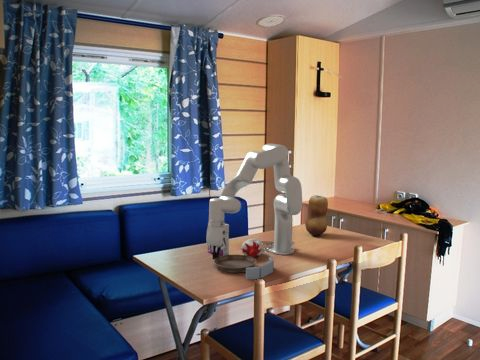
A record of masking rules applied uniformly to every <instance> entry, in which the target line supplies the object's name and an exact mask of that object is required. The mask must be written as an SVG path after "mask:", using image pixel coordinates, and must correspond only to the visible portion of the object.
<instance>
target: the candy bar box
mask: <svg viewBox="0 0 480 360" xmlns="http://www.w3.org/2000/svg"><path fill="white" fill-rule="evenodd" d="M208 225H209V222H207V226H208ZM224 226H225V227H226V233H227V245H225V249H223V250H220V251H219V257H221V256H225V255H230V254H229V253H230V252H229V251H230V250H229V248H230V247H229V244H230V224H228V223H226V224H225V225H224ZM207 253H210V254H213V251H212V250H211V248H210V247H209V246H207Z"/></svg>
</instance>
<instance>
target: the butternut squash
mask: <svg viewBox="0 0 480 360" xmlns="http://www.w3.org/2000/svg"><path fill="white" fill-rule="evenodd" d="M307 205H308V206H307V218H306V221H305V224H304V226H305V230H306V231H307V232H308V234H309V235H310V236H312V235H313V236H316V235H317V236H321V235H323V234H324V233H326V231H327V228H328V222H327V217H326V215H327V211H328V207H329V206H328V205H329V203H328V198H327V197H326V196H323V195H316V194H315V195H314V194H313V195H312V196H310V198H309V200H308V203H307ZM313 236H312V237H313Z"/></svg>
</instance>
